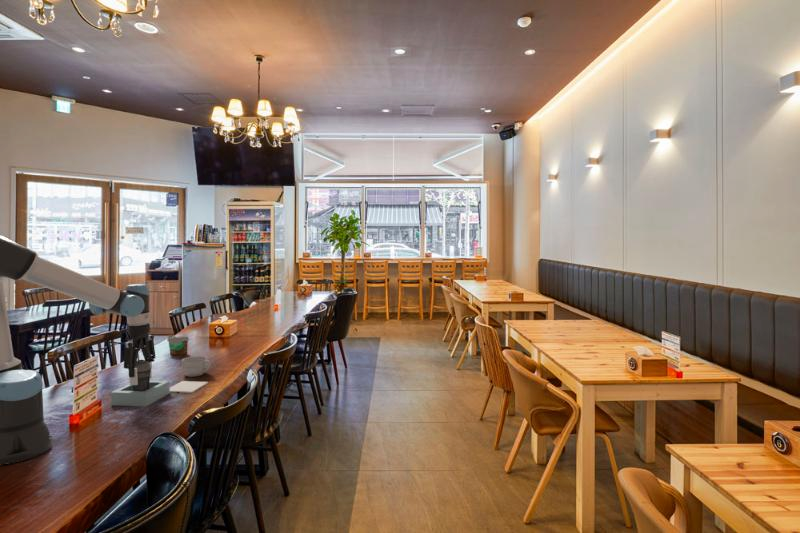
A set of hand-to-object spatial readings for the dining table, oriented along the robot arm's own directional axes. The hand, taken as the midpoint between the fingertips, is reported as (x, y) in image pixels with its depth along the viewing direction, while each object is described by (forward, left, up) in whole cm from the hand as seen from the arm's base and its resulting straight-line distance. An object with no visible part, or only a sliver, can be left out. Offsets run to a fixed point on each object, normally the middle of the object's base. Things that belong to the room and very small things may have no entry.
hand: (141, 381), depth 166 cm
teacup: (+30, -5, -7) cm, 31 cm away
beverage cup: (0, 0, -7) cm, 7 cm away
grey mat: (+14, -10, -7) cm, 19 cm away
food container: (+62, +27, -7) cm, 68 cm away
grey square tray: (0, 0, -7) cm, 7 cm away
